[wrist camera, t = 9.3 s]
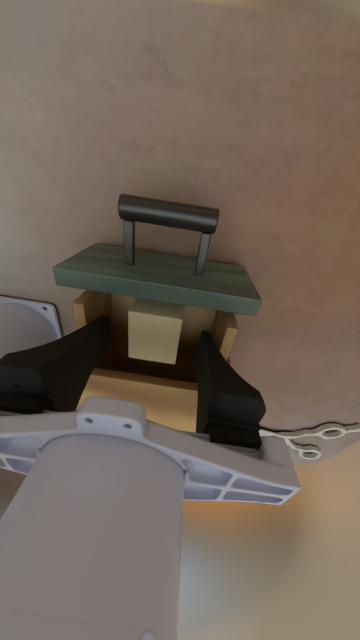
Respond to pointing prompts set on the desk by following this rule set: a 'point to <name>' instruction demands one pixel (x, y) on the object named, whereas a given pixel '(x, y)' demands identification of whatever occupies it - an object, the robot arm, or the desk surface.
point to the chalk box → (154, 330)
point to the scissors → (315, 432)
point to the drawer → (159, 287)
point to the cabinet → (149, 396)
